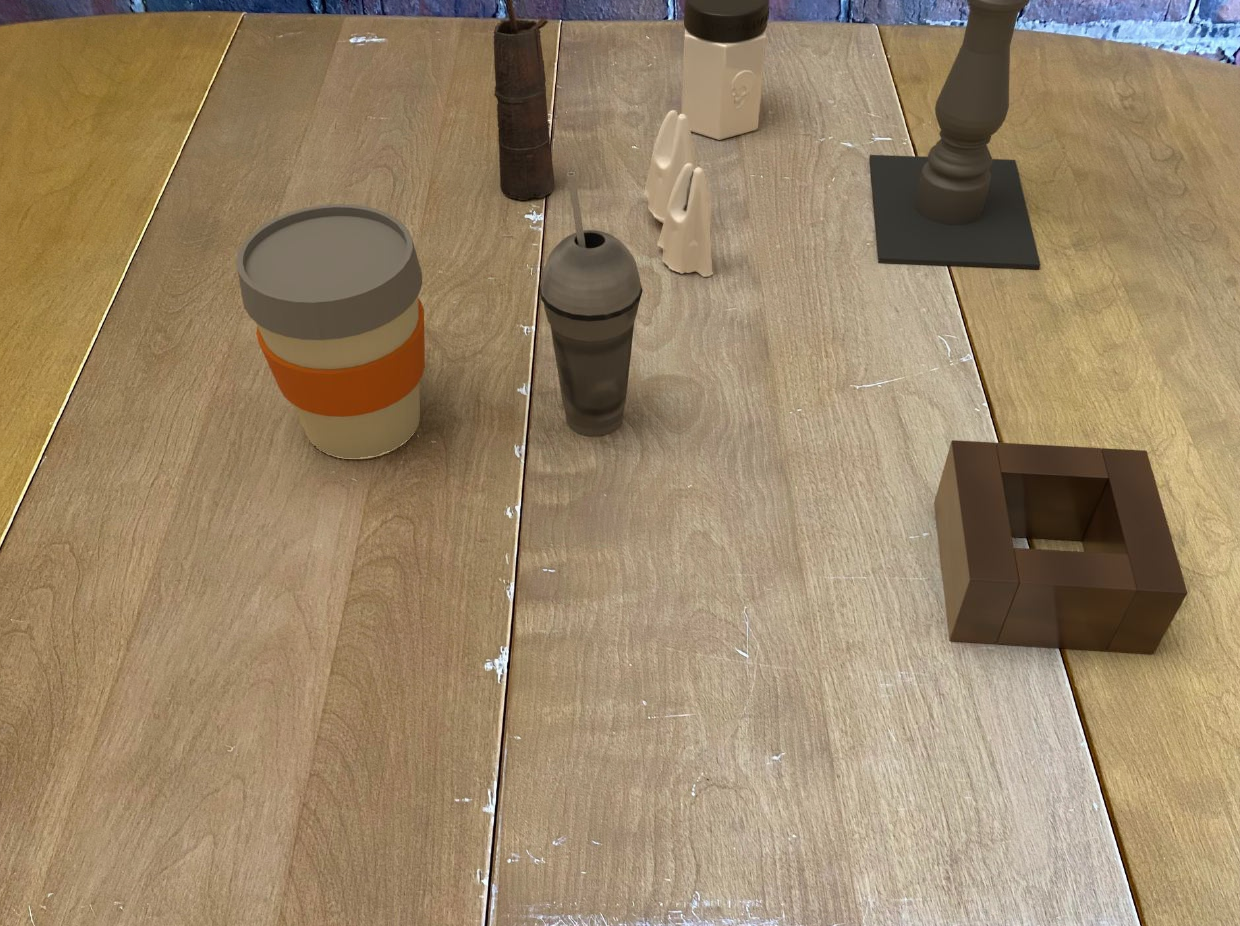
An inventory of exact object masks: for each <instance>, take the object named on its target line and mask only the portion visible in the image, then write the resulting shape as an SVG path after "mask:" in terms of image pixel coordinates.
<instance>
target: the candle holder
mask: <svg viewBox="0 0 1240 926" xmlns="http://www.w3.org/2000/svg"><path fill="white" fill-rule="evenodd" d="M966 1H967V3H968V6H969V8H970V9H969V12H968V16H967V21H966V22H967V23H966V26H965V30H964V35H963V38H962V39H963V40H962V43H961V46H960V48H959V50H958V52H957V55H956V57H955V60H954V62H953V64H952V66H951V68H950V70H949V73H948V75H947V76H946V79H945V82H944V84H943V86H942V88H941V90H940V93H939V94H938V97H937V99H936V101H935V106H934V113H935V118H936V121H937V124H938V127H939V130H940V131H939V134H938V135H939V137H940V139H939V140H938V141H936V144H934V145H933V146H932V147H930V149H929V152H928V154H927V156H926V157H927V159H928V162H927V163H925V165H924V167H923V169H922V172H921V177H920V181H919V186H918V191H917V196H916V201H915V206H916V209H917V211H918V212H919V213H920V214H921V215H922V216H923V217H925V218H927V219H929V220H932V221H934V222H937V223H942V224H947V225H961V224H966V223H969V222H973V221H974V220H976V219H977V218H979V217H980V216H981V213H982V211H983V207H984V203H985V199H986V195H987V192H988V188H989V184H990V180H991V174H990V171H989V169H990V167H991V164H992V161H993V159H994V158H993V157H992V154H991V152H990V150H989V147H988V144H989V143H990V141H991V140H992V136H993V135H995V134H996V133H997V132H998V131H999V129H1001V127H1002V126H1003V124H1004V122H1005V120H1006V117H1007V115H1008V111H1009V108H1010V69H1011V68H1010V67H1011V66H1010V63H1011V44H1012V41H1013V36H1014V32H1015V29H1016V24H1017V21H1018V16H1019V14H1020V12H1021V11H1022V9H1024V8H1026V7H1027V6H1028V5H1029V3H1030V1H1031V0H966Z"/></svg>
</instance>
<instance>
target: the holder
mask: <svg viewBox="0 0 1240 926" xmlns="http://www.w3.org/2000/svg"><path fill="white" fill-rule="evenodd" d="M934 498H935V499H934V501H933V506H934V515H935V525H936V533H937V542H938V551H939V552H938V553H939V560H940V567H941V568H940V569H941V576H942V577H941V578H942V584H943V585H942V586H943V596H944V603H945V604H944V605H945V613H946V621H947V629H948V638H949V639H948V640H949V641H950V642H960V643H961V642H962V643H975V644H976V643H979V644H991V645H992V644H993V645H1003V646H1004V645H1005V646H1020V647H1035V648H1049V649H1050V648H1051V649H1066V650H1079V651H1094V652H1113V653H1126V654H1127V653H1128V654H1129V653H1130V654H1142V655H1143V654H1146V655H1155V653H1156V651H1157V649H1158V647H1159V645H1160V644H1161V642H1162V640H1163V638H1164V636H1165V634H1166V633H1167V631H1168V629H1169V627H1170V626H1171V624H1172V622H1173V620H1174V618H1175V617H1176V615H1177V613H1178V612H1179V610H1180V608H1181V606H1182V604H1183V602H1184V601H1185V599H1186V598H1187V595H1188V589H1187V586H1186V582H1185V578H1184V574H1183V571H1182V569H1181V564H1180V561H1179V558H1178V554H1177V551H1176V548H1175V544H1174V541H1173V538H1172V534H1171V531H1170V527H1169V524H1168V523H1169V522H1168V521H1167V516H1166V513H1165V510H1164V506H1163V502H1162V499H1161V496H1160V492H1159V487H1158V486H1157V482H1156V478H1155V475H1154V472H1153V468H1152V464H1151V461H1150V457H1149V454H1148V450H1145V449H1125V448H1110V447H1109V448H1108V447H1107V448H1106V447H1102V448H1101V447H1090V446H1089V447H1088V446H1074V445H1073V446H1069V445H1052V444H1034V443H1033V444H1032V443H1014V442H990V441H973V440H956V439H955V440H954V439H953V440H951V442H950V444H949V449H948V451H947V456H946V459H945V462H944V466H943V470H942V472H941V476H940V480H939V484H938V488H937V491H936V494H935V497H934ZM1013 538H1025V539H1026V538H1027V539H1028V538H1030V539H1043V540H1044V539H1045V540H1046V539H1047V540H1061V541H1062V540H1064V541H1079V542H1082V546H1083V550H1084V551H1075V550H1074V551H1073V550H1059V549H1058V550H1057V549H1039V548H1024V547H1014V542H1013Z"/></svg>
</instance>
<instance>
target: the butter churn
mask: <svg viewBox="0 0 1240 926" xmlns="http://www.w3.org/2000/svg"><path fill="white" fill-rule="evenodd" d="M505 2H506V5H507V16H508V19H505V18H504V19H500V22H498V23H497V24H496V25H495V26H494V30H493V59H494V60H493V61H494V62H493V63H494V66H493V67H494V79H495V85H494V86H495V87H494V93H493V95H494V97H495V98H496V100H497V104H496V112H497V115H496V118H497V128H498V129H497V133H498V135H497V136H498V155H499V156H498V157H499V158H498V160H499V186H500V189H501V192H502V194H503V195H505V196H506V197H508V198H511V199H516V200H522V201H523V200H524V201H526V200H529V199H532V198H536V199H541V198H545V197H546V196H548V195H550V194H551V193H552V191H553V190H554V189H555V184H556V183H555V176H554V166H553V158H552V157H553V156H552V147H551V136H550V128H549V117H548V116H549V115H548V101H547V87H546V86H547V85H546V82H547V80H546V72H545V60H544V56H543V47H542V40H541V39H542V38H541V37H542V36H541V29H542V28H544V27H546V25H547V24H548V23H549V22H548V19H547V18H546V17H545V16H543V17H541V18H540V19H539V20H538V21H535V20H528V19H522V18H516V13H515V10H514V7H513V6H514V5H513V1H512V0H505Z"/></svg>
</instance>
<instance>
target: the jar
mask: <svg viewBox="0 0 1240 926" xmlns="http://www.w3.org/2000/svg"><path fill="white" fill-rule="evenodd" d="M683 5H684V7H683V26H684V35H683V36H684V37H683V38H684V39H683V61H682V64H683V65H682V88H681V91H682V92H681V113H680V114H684V115H685V116H686V117H687V119H688V122H689V126H690V130H691V133H694V134H698V135H700V136H701V135H702V136H704V137H707V138H711V139H714V140H717V141H721V140H722V141H723V140H726V139H729V138H732V137H736V136H740V135H744V134H746V133H751V132H754V131H757V130H758V128H759V121H760V110H761V100H762V99H761V97H762V87H763V77H764V67H765V53H766V44H767V28H768V21H769V18H770V9H771V7H770V0H684V4H683Z"/></svg>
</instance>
